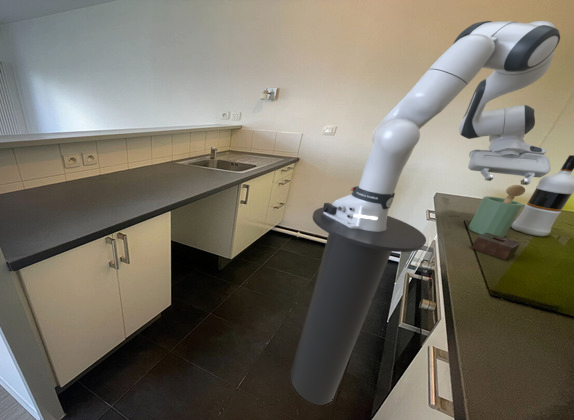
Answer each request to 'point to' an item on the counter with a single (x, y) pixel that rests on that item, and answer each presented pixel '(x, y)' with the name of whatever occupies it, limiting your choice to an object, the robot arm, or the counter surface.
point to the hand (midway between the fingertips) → (506, 181)
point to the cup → (494, 216)
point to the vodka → (546, 202)
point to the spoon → (513, 192)
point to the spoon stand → (495, 246)
